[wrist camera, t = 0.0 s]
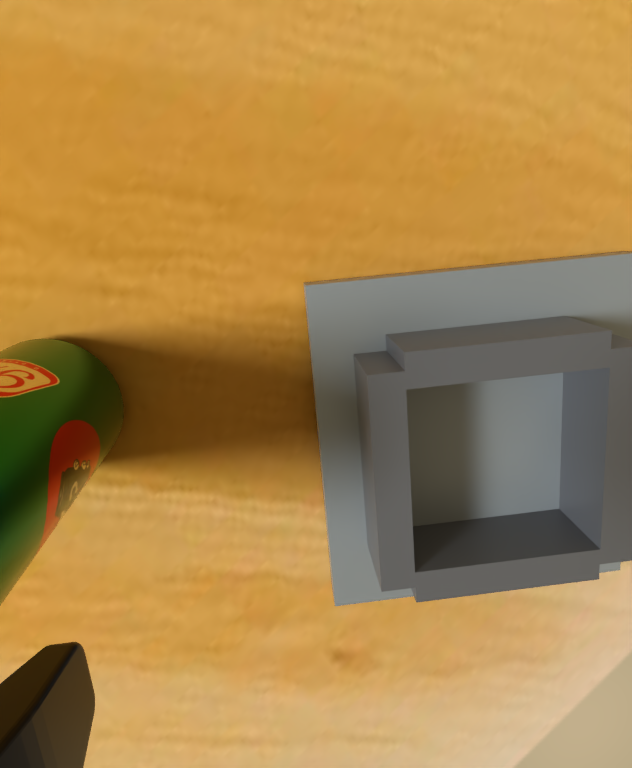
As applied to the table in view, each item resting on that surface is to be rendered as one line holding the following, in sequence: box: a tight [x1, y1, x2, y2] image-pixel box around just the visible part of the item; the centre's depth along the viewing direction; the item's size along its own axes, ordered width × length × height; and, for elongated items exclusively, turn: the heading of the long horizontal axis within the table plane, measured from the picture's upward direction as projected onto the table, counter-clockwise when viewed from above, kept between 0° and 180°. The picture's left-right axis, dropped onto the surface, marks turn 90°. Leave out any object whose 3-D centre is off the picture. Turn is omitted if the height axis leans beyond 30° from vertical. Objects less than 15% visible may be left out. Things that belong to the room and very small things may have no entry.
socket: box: [304, 251, 632, 606], centre depth 21 cm, size 13×12×4 cm
